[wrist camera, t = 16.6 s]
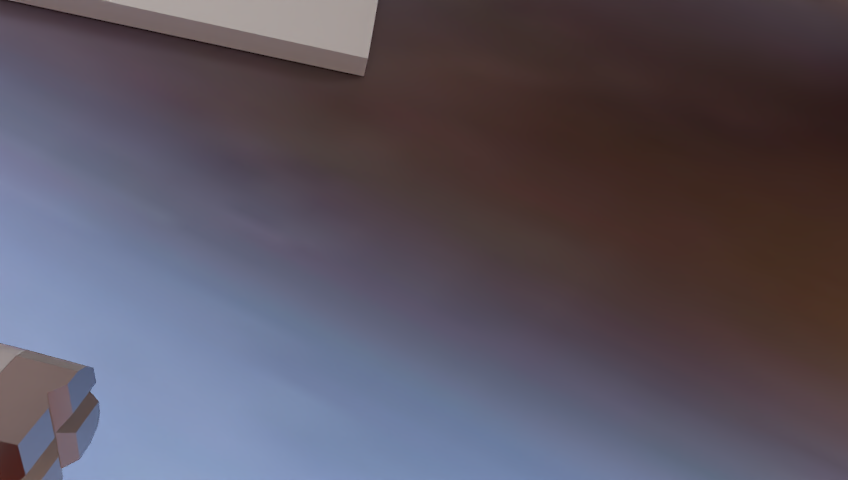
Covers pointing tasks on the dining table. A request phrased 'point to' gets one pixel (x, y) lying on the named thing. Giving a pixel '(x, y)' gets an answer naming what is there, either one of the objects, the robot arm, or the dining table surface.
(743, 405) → the dining table surface
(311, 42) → the press
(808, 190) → the dining table surface
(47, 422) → the robot arm
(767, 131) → the dining table surface
